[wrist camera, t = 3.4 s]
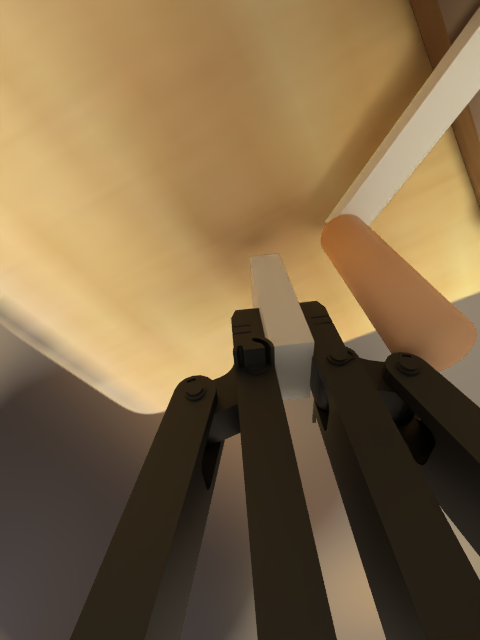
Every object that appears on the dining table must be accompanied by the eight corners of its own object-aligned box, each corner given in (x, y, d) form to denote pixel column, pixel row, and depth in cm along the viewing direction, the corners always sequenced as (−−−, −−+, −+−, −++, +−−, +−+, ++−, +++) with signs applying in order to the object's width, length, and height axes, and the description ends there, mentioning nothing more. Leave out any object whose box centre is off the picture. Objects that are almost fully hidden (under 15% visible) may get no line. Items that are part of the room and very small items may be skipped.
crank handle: (527, 18, 13) (1027, -81, 5) (339, 255, 19) (431, 382, 11) (492, -24, 12) (1026, -226, 4) (307, 237, 18) (381, 361, 10)
